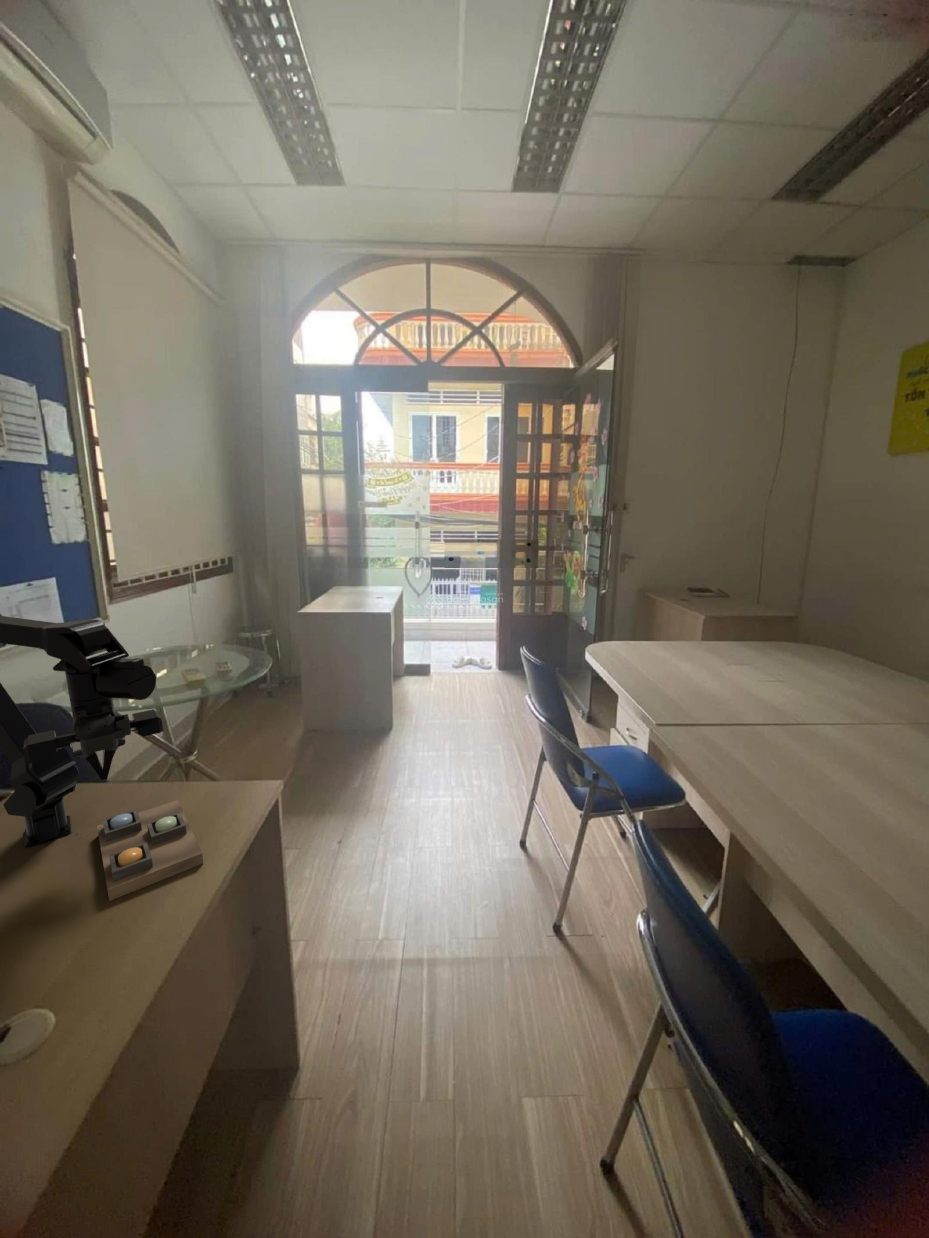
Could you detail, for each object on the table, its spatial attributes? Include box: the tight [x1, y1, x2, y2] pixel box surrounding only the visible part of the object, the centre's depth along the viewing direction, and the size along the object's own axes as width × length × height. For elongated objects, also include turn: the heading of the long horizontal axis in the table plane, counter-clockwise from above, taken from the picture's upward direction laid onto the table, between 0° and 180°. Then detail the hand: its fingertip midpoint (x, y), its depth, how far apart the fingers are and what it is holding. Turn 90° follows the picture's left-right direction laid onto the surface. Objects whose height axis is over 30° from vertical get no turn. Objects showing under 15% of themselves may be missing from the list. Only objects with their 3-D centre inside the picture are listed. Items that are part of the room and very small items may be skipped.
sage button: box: [155, 816, 177, 833], centre depth 87 cm, size 3×3×2 cm
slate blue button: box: [110, 812, 133, 830], centre depth 88 cm, size 3×3×2 cm
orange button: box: [118, 847, 143, 868], centre depth 79 cm, size 3×3×2 cm
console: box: [96, 799, 204, 902], centre depth 85 cm, size 20×13×4 cm, turn 40°
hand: (104, 779), depth 86 cm, fingers closed
